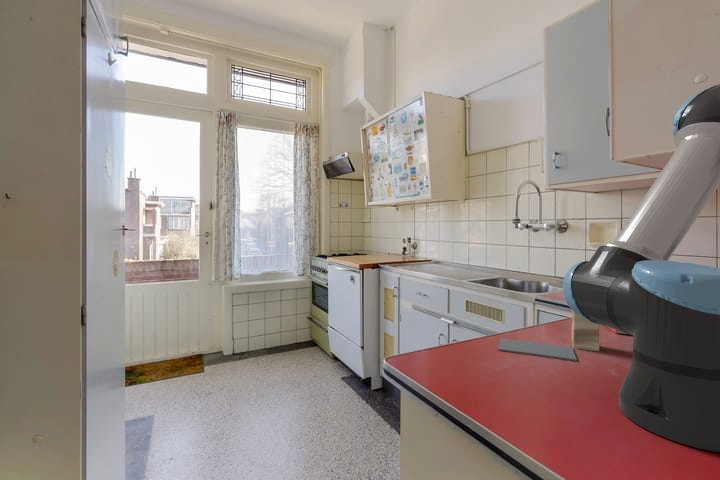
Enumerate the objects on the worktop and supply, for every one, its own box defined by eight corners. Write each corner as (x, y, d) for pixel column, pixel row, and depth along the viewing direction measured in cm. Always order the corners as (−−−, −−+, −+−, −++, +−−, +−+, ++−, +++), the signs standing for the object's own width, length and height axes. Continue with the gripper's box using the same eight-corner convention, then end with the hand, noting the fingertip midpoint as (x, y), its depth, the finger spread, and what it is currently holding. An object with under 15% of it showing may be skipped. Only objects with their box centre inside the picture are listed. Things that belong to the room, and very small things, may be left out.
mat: (576, 361, 73) (576, 359, 73) (498, 350, 80) (498, 348, 80) (572, 348, 81) (572, 346, 81) (500, 339, 88) (500, 338, 88)
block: (599, 351, 79) (599, 301, 79) (574, 348, 81) (574, 299, 81) (595, 345, 83) (595, 297, 83) (571, 342, 86) (571, 296, 85)
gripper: (802, 374, 58) (645, 355, 67) (726, 335, 80) (616, 325, 89) (802, 331, 57) (645, 318, 67) (726, 304, 80) (616, 297, 89)
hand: (628, 322), depth 78 cm, fingers open, 13 cm apart
